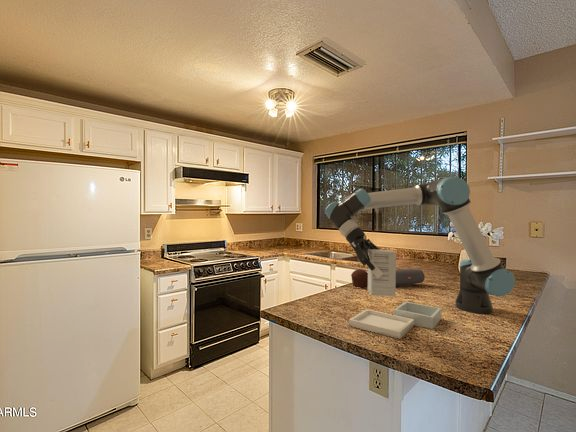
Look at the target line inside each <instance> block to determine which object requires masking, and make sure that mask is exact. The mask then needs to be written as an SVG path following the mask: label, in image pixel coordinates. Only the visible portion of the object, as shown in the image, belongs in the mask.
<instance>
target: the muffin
mask: <svg viewBox="0 0 576 432" xmlns="http://www.w3.org/2000/svg"><path fill="white" fill-rule="evenodd" d="M350 276H351V283H352V286H353V287H354V286H355V287H354V288H357V287H362V288H361V289H365V288H364V287H367V288H368V271H366V270H365V269H361V268H360V269H355V270H354V271H353V272H351V275H350Z"/></svg>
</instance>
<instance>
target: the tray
mask: <svg viewBox="0 0 576 432" xmlns="http://www.w3.org/2000/svg"><path fill="white" fill-rule="evenodd" d="M348 326H349V327H351V326H352V327H353V328H355V327H356V329H359V328H360V330H363V331H366V330H367V332H370V331H371V332H370V333H374V332H375V334H378V333H379V334H378V335H382V334H383V336H385V335H387V336H386V337H389V336H391V337H390V338H393V337H394V338H393V339H397V338H398V339H397V340H401V339H402V338H403V337H405V335H406V334H407V333H408V332H409V331H410V330H412V329H413V328H414V326H415V325H414V319H410V318H405V317H401V316H396V315H394V314H391V313H386V312H381V311H377V310H372V309H368V308H366V309H364V310H363V311H360V312H359V313H358V314H356V315H354V316H352V317H351V318H349V319H348Z"/></svg>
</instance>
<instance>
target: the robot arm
mask: <svg viewBox="0 0 576 432" xmlns="http://www.w3.org/2000/svg"><path fill="white" fill-rule="evenodd" d="M470 194H471V188H470V186H469V184H468V183H467V181H465V180H464V179H463V178H461V177H458V176H457V177H456V176H448V177H444V178H441V179H440V178H439V179H436V180H433V181H429V182H426V183H421V184H416V185H415V186H413V187H409V188H408V187H407V188H399V189H390V190H381V191H372V192H367V191H366V190H365V188H361V187H360V188H359V189H357V190H355V191H354V192H353V193H352V194H348V195H346V196H345V197H344V198H343V199H342V202H340V203H339V202H338V201H333V202H331V203H329V204H328V205H327V206H326V208H325V210H324V214H325V215H326V217H327V219H328V220H329V221H330V222H331V224H333V225H334V227H335V228H336V229H337V230H338V231H339V233H340V235H342V236H343V237H344V238H345V240H346V241H347V242H348V243H349V245H350V246H351V247H352V249H353V250H354V253H355V254H356V256H357V258H358V260H359V262H360V264H362V266H364V267H365V266H367V269H368V268H369V269H370V270H371V271H372V272H373V274H374V275H375V276H376V277H377V278H379V277H380V276H382V275H383V273H382V272H381V270H380V269H379V268H378V267H377V266H376V264H375V263H374V262H373V261H372V260H371V261H370V258H369V256H368V249H375V250H381V249H380V248H379V246H377V245H376V244H374V243H373V242H372V241H371V240H370V239H369V238H367V239H366V238H364V237H365V235H366V234H365V232H364V230H362V228H360V227H359V225H358V224H357V222H355V220H354V219H353V218H352V217H353V216H354V215H355V214H357V213H358V212H360V211H363V210H369V209H370V210H371V209H377V208H378V209H379V208H386V207H387V208H388V207H397V206H405V205H414V204H416V205H417V206H425V205H426V206H428V205H429V206H438V207H439V208H440V210H441V213H442V214H444V215H446V216H448V218H449V221H450V223H451V224H452V227H453V228H454V231H455V232H456V234H457V236H458V239H459V241H460V242H461V245H462V247H463V249H464V251H465V252H466V254H467V256H468V258H469V259H462V260H461V261H460V265H459V291H458V294H457V296H456V299H455V301H454V302H455V304H454V305H455V307H456V308H457V309H459V310H461V311H466V312H468V313H474V314H490V313H492V312H493V311H494V307H493V303H492V300H491V296H495V297H504V296H507V295H508V294H510V293H511V292H513V290H514V287H515V285H516V278H515V276H514V274H513V273H512V272H511V271H510V270H508V269H506V268H505V267H504V265H503V263H502V261H501V259H499V258H497V257H495V256H494V254H493V252H492V250H491V248H490V247H489V245H488V242H487V240H486V238H485V237H484V235H483V232H482V231H481V229H480V226H479V225H478V223H477V220H476V219H475V217H474V214H473V213H472V210H471V209H470V205H471V200H470ZM490 295H491V296H490Z"/></svg>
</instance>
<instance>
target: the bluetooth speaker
mask: <svg viewBox="0 0 576 432" xmlns="http://www.w3.org/2000/svg"><path fill="white" fill-rule="evenodd" d="M423 282H425V273H424V271H423V270H422V269H419V268H418V269H417V268H412V269H411V268H410V269H409V268H407V269H406V268H404V269H396V286H397V287H411V286H413V285H414V284H415V285H417V284H422V283H423Z"/></svg>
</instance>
